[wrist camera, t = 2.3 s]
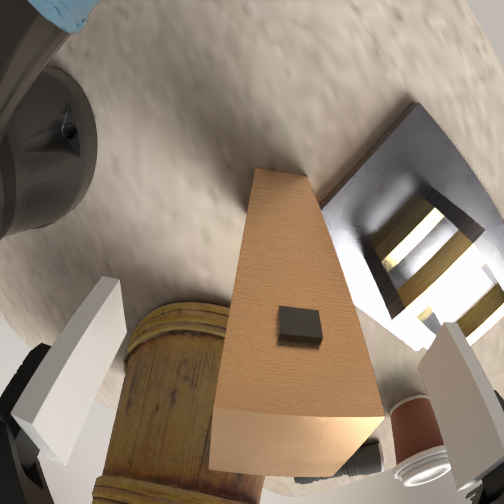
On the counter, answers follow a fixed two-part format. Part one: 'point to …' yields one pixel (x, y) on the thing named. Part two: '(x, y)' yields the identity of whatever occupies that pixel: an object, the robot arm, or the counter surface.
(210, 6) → the counter surface
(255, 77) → the counter surface
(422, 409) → the coffee cup
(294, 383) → the tapered wooden post
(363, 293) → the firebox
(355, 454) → the flashlight
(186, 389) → the tankard
